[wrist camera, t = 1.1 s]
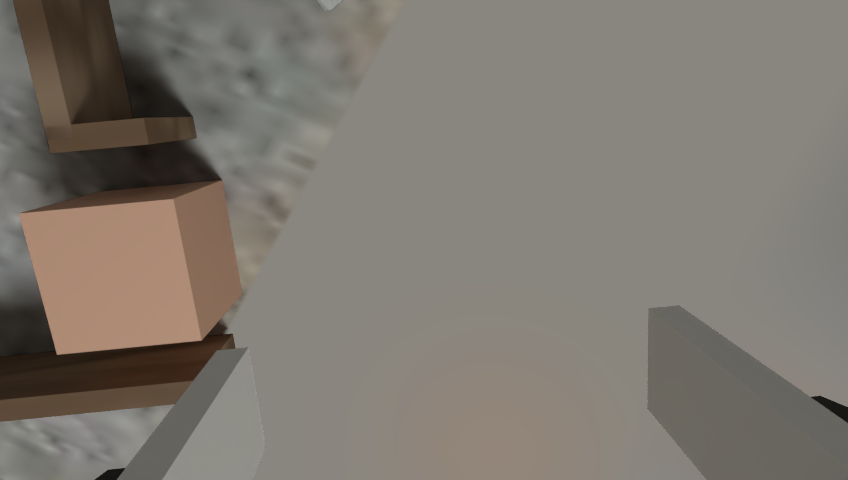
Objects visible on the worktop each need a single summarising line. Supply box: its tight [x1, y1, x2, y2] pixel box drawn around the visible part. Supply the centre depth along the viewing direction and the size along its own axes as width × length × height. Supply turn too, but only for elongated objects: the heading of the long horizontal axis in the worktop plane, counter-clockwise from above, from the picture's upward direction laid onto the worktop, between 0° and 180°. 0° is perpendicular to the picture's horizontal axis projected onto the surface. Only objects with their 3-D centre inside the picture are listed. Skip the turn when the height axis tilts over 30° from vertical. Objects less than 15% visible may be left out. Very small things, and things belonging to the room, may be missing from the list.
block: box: [19, 180, 242, 355], centre depth 29 cm, size 7×7×7 cm
